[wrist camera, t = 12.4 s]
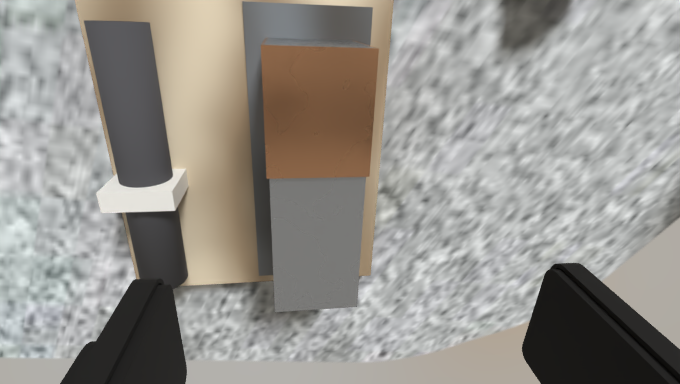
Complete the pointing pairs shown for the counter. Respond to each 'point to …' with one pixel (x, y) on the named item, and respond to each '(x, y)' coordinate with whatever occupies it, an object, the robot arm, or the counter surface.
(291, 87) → the grey and copper block
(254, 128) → the board
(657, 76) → the counter surface
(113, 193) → the rod
